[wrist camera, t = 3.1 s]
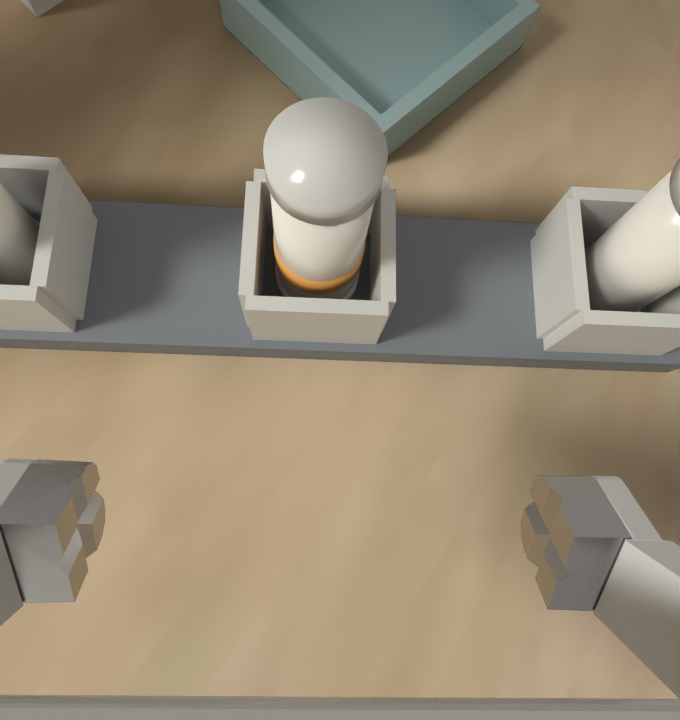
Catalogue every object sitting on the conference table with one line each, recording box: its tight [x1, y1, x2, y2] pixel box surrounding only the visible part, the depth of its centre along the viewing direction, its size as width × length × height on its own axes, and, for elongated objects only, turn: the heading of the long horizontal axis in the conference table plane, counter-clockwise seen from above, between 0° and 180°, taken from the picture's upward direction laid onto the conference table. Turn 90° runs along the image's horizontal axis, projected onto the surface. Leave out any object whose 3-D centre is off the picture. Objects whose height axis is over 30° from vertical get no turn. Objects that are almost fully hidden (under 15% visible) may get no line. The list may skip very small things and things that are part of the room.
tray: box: [220, 0, 541, 156], centre depth 32 cm, size 12×12×3 cm
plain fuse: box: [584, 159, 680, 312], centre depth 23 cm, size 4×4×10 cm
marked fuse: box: [263, 97, 388, 300], centre depth 23 cm, size 4×4×10 cm
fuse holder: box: [0, 154, 680, 372], centre depth 26 cm, size 7×35×6 cm, turn 89°
